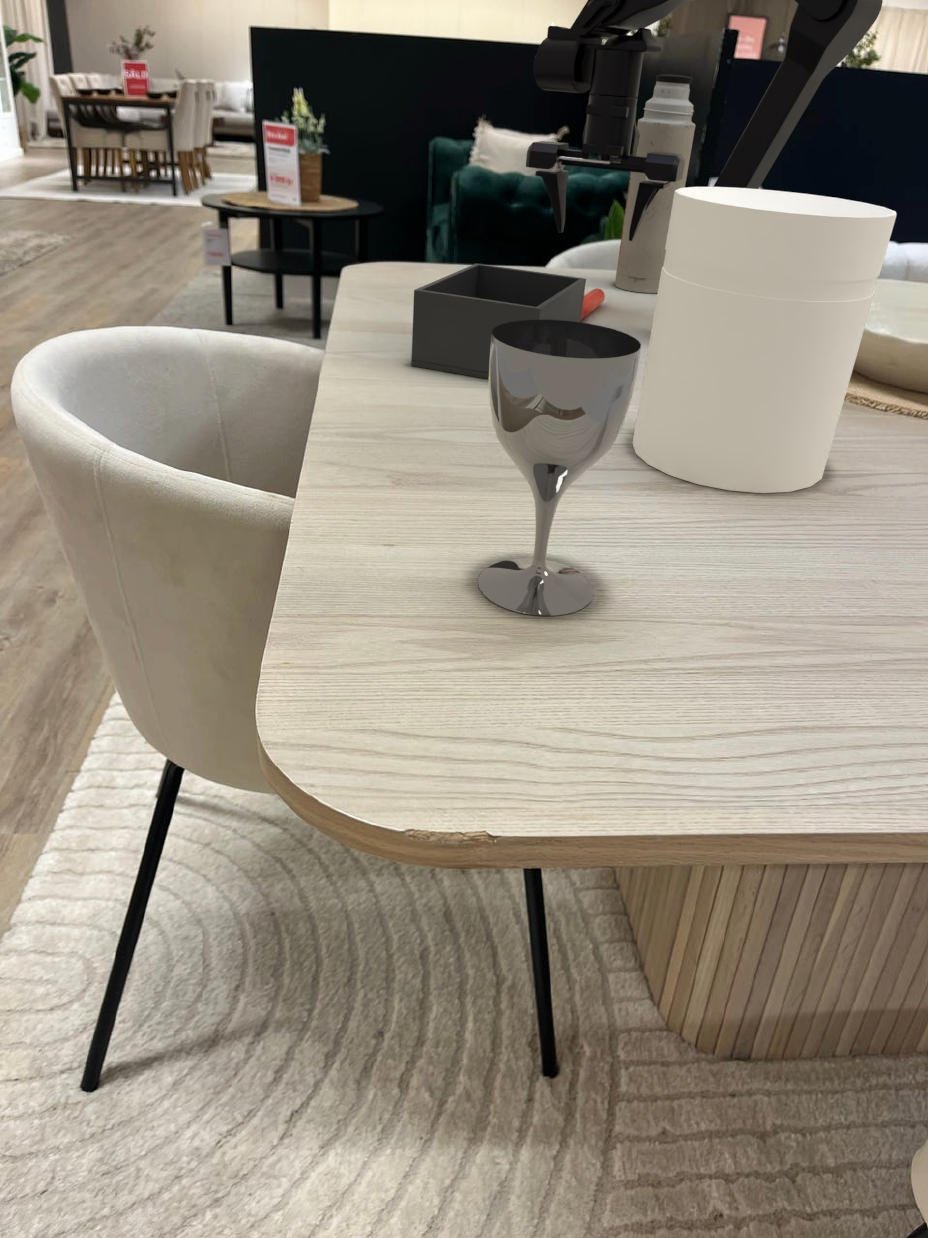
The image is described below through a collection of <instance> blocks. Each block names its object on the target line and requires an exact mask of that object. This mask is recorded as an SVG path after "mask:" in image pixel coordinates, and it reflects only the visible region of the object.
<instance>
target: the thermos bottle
mask: <svg viewBox="0 0 928 1238" xmlns="http://www.w3.org/2000/svg"><path fill="white" fill-rule="evenodd" d="M655 81H656V82H655V85H654V88H653V95H652V97H651V98H650V99H648V100H647V101H646V102H645V106H644V108H643V110H644V111H643V112H644V113H643V117H641V118H638V120H637V124H636V126H637V128H638V131H639V134H640V138H639V143H638V148H637V153H636V156H641V157H647V153H650V152H665V153H676V154H682V156H683V158H684V159H685V165H684V171H683V177H682V179H681V180H679V181H677V182H671V183H670V186H669V187H667V188H664V189H660V190H659V191H658V193H657V194H656V196H655V197H654V199H653V200H652V202H651V204H650V205H649V207H648V209H647V211H646V213H645V216H644V218H643V220H642V222H641V224H640V226H639V229H638V231H637V233H636V235H635V237H634V239H633V241H629V231H630V225H631V220H632V215H633V211H634V206H635V201H636V197H637V192H638V187H639V183H640V182H642V181H645V179H646V176H644V175H645V173H638V172H630V174H629V175H630V176H629V182H628V187H627V195H626V203H625V210H624V216H623V222H622V223H623V224H622V229H621V230H622V231H621V237H620V244H619V251H618V259H617V265H616V272H615V280H614V286H615V287H617V288H618V289H621V290H624V291H629V292H635V293H643V294H658V288H659V282H660V276H661V270H662V267H663V266H664V260H665V254H666V250H665V246H666V240H667V234H668V228H669V222H670V216H671V210H672V204H673V198H674V192H675V190H677V189H679V188H686V182H687V177H688V172H689V171H688V170H689V167H690V166H689V165H690V159H691V154H692V147H693V142H694V138H695V137H694V136H695V131H696V123H694V122H693V121H692V117H693V115H694V114H693V113H695V110H694V104H693V103H692V102H691V101H690V99H689V98H690V92H691V89H690V85H691V84H692V83H693V77H690V76H686V75H681V74H667V73H666V74H657V75H656V78H655Z"/></svg>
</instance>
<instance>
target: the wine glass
mask: <svg viewBox="0 0 928 1238" xmlns="http://www.w3.org/2000/svg"><path fill="white" fill-rule="evenodd" d="M641 349H642V344H641V342H640V341H639V339H637V338H636V337H633V336H632V335H630V334H628V333H626V332H623V331H620V330H618V329H615V328H610V327H606V326H603V325H598V324H593V323H592V324H591V323H586V322H582V321H581V322H572V321H562V320H521V321H514V322H508V323H504V324H501V325H498V326H497V327H495V328H494V329H493V330H492V334H491V343H490V354H489V379H488V392H489V406H490V414H491V420H492V425H493V429H494V432H495V436H496V438H497V440H498V441H499V444H500V446H501V447H502V449H503V450H504V452H505V453H506V454H507V456H508V457H509V458H510V460H511V461H512V462H513V464H514V465H515V467H516V468H517V469H518V470H519V472H520V473H521V475H523V477H524V479H525V480H526V482H527V484H528V487H529V488H530V491H531V493H532V496H533V500H534V509H535V510H534V511H535V513H534V514H535V532H534V533H535V536H534V548H533V555H532V558H528V557H527V558H526V557H525V558H511V559H505V560H501V561H498V562H495V563H493V564H491V565H489V566H487V567H485V569H484V570H483V571H482V572H481V573H480V574H479V576H478V579H477V580H478V581H477V582H478V588H479V590H480V592H481V593H482V595H483V596H484V597H486V598H487V599H488V600H489V601H491V602H492V603H494V604H495V605H497V606H500V607H502V608H504V609H506V610H509V611H512V612H516V613H519V614H524V615H530V616H541V617H542V616H543V617H552V616H553V617H555V616H562V615H563V616H564V615H569V614H572V613H575V612H579V611H580V610H583V609H584V608H586V607H587V606H589V605H590V604H591V602H593V599H594V597H595V589H594V585H593V583H592V582H591V580H590V579H589V578H588V577H587V576H586V575H584V574H583V573H582V572H580V571H579V570H577V569H575V568H573V567H571V566H570V565H569V566H568V565H566V564H564V563H560V562H556V561H552V560H548V559H547V554H548V547H549V546H548V545H549V541H550V540H549V538H550V534H551V530H552V527H553V526H552V525H553V522H554V518H555V515H556V510H557V508H558V505H559V502H560V501H561V499H562V498H563V496H564V495H565V493H566V491H567V490H568V489H569V488H570V487H571V486H572V485H573V484H574V483H575V482H576V481H577V480H578V479H579V478H581V477H582V476H583V475H584V474H586V473H587V472H588V471H589V470H590V469H592V468H593V467H594V466H595V465H597V464H598V463H599V462H600V461H601V460H603V458H604V457H605V456H606V455H607V454H608V453H609V452H610V451H611V449H612V447H613V446H614V444H615V443H616V440H617V438H618V437H619V434H620V432H621V430H622V427H623V425H624V422H625V421H626V417H627V414H628V411H629V408H630V404H631V401H632V398H633V396H634V395H633V394H634V390H635V385H636V380H637V376H638V371H639V363H640V357H641Z"/></svg>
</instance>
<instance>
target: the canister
mask: <svg viewBox="0 0 928 1238" xmlns="http://www.w3.org/2000/svg"><path fill="white" fill-rule="evenodd" d="M897 215H898V213H897V211H896V210H892V209H890V208H888V207H886V206H881V205H877V204H872V203H868V202H863V201H857V200H851V199H846V198H840V197H832V196H826V195H820V194H819V195H818V194H812V193H811V194H810V193H803V192H794V191H793V192H792V191H784V190H773V189H760V188H759V189H750V188H732V187H713V186H688V187H686V186H685V188H679V189H677V190H675V192H674V198H673V204H672V210H671V216H670V222H669V228H668V234H667V240H666V246H665V250H666V254H665V260H664V266H663V267H662V270H661V276H660V282H659V288H658V293H656V294H657V295H656V300H655V306H654V311H653V313H654V314H653V319H652V324H651V331H650V336H649V342H648V347H647V354H646V360H645V366H644V367H645V368H644V372H643V378H642V383H641V390H640V396H639V401H638V407H637V413H636V420H635V425H634V432H633V438H632V446H633V450H634V453H635V454H636V455H637V456H638V457H639V458H640V459H641V460H643V462H645V463H646V464H647V465H649V466H651V468H654V469H655V470H656V469H657V470H658V471H660V472H663V473H664V474H665V475H666V474H667V475H668V476H671V477H674V478H677V479H679V480H683V481H686V482H689V483H692V484H696V485H699V486H703V487H710V488H714V489H719V490H720V489H721V490H724V491H731V492H743V493H755V494H756V493H757V494H773V493H791V492H795V491H799V490H803V489H806V488H811V487H813V486H814V485H816V483H818V482H819V481H821V480H822V479H823V476H824V473H825V469H826V465H827V463H828V459H829V455H830V452H831V447H832V444H833V442H834V437H835V434H836V430H837V428H838V423H839V420H840V416H841V412H842V409H843V406H844V402H845V398H846V395H847V392H848V388H849V384H850V381H851V377H852V374H853V371H854V367H855V363H856V360H857V357H858V352H859V349H860V346H861V342H862V339H863V334H864V331H865V328H866V323H867V321H868V317H869V313H870V310H871V307H872V304H873V300H874V296H875V295H874V294H875V293H874V291H875V286H876V284H877V280H878V277H880V275H881V271H882V268H883V264H884V261H885V257H886V254H887V250H888V247H889V244H890V239H891V236H892V233H893V229H894V226H895V223H896V219H897Z"/></svg>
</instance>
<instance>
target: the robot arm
mask: <svg viewBox="0 0 928 1238" xmlns="http://www.w3.org/2000/svg"><path fill="white" fill-rule="evenodd" d="M694 1H695V0H587V1H586V3H585V4H584V5H583V8H582V9H581V10H580V12H579V14H578V15H577V17H576V18H575V20H574V22H573V23H572V25H571V26H570V28H569V27H566V26H559V25H548V27H547V33H546V37H545V38H544V39H543V40H542V41H541V42H540V44H539V46H538V48H537V52H536V55H535V56H534V57H533V76H534V79H535V83H536V85H537V86H538V88H540V89H541V90H543V91H551V92H563V93H572V94H573V93H575V94H584V93H587V92H588V91H589V96H588V103H587V104H586V110H585V115H586V119H585V120H586V121H585V124H584V128H583V133H582V143H581V146H582V147H581V150H578V149H570V146H569V143H568V142H559V141H545V140H539V141H533V142H532V143H531V144H530V145H529V146H528V148H527V151H526V160H525V167H526V168H532V169H537V170H535V172H534V173H535V174H534V175H535V176H536V177H540V178H542V182H543V184H544V186H545V189H546V192H547V195H548V197H549V200H550V204H551V208H552V212H553V216H554V220H555V224H556V228H557V231H558V233H559V234H560V233H561V234H562V233H563V232H564V229H565V223H566V209H567V208H566V206H567V205H566V204H567V184H568V179H569V175H570V174H569V173H570V170H566V169H564V168H565V167H566V166H569V167H580V168H589V169H600V170H608V171H618V172H619V171H620V172H630V173H631V172H638V173H645V175H644V176H646V179H645V181H642V182H640V183H639V187H638V192H637V197H636V201H635V206H634V211H633V215H632V220H631V225H630V231H629V241H633V239H634V237H635V235H636V233H637V231H638V229H639V226H640V224H641V222H642V220H643V218H644V216H645V213H646V211H647V209H648V207H649V205H650V204H651V202H652V200H653V199H654V197H655V196H656V194H657V193H658V191H659V190H660V189H664V188H667V187H669V186H670V183H671V182H677V181H679V180H681V179H682V177H683V171H684V165H685V159H684V158H683V156H682V154H676V153H665V152H650V153H647V157H641V156H636V153H637V148H638V143H639V138H640V134H639V131H638V128H637V121H636V118H637V103H638V97H639V89H640V82H641V76H642V68H643V62H644V61H643V60H644V54H655V55H657V54H660V53H661V52H662V46H661V45H660V44H659V42H658V41H657V40H656V38H655V37H654V35H653V33H652V30H651V29H650V28H647V27H650V26H651V25H654V24H655V23H657V22H658V21H660V20H661V21H662V20H663V19H665V18H667V16H668V15H670V14H671V13H672V12H673V11H674V10H676V9H677V8H679V7H681V6H683V5H685V4H686V3H691V2H694ZM794 1H795V2H796V4H797V6H796V9H795V10H794V14H793V15H792V19H791V22H790V25H789V28H788V34H787V41H786V47H785V53H784V56H783V59H782V62H781V63H780V65H779V66H778V69H777V71H776V72H775V74H774V76H773V77H772V80H771V81H770V83H769V85H768V87H767V88H766V90H765V92H764V94H763V96H762V98H761V100H760V101H759V103H758V105H757V107H756V109H755V110H754V112H753V114H752V116H751V118H750V119H749V121H748V123H747V125H746V127H745V128H744V130H743V132H742V134H741V135H740V137H739V139H738V141H737V143H736V145H735V147H734V148H733V150H732V152H731V154H730V155H729V157H728V159H727V161H726V162H725V165H724V167H723V169H721V172H720V174H719V176H718V177H717V179H716V180H715V182H714V184H713V186H712V187H732V188H750V189H760V187H761V186H762V184H763V182H764V180H765V178H766V177H767V175H768V174H769V172H770V170H771V168H772V167H773V166H774V163H775V162H776V160H777V158H778V156H779V155H780V153H781V152H782V150H783V148H784V146H785V145H786V143H787V141H788V140H789V138H790V136H791V134H792V133H793V131H794V129H795V127H796V126H797V124H798V123H799V121H800V119H801V117H802V116H803V114H804V113H805V111H806V109H807V107H808V105H809V104H810V102H811V101H812V99H813V97H814V95H815V94H816V92H817V90H819V87H820V85H821V83H822V82H823V80H824V79H825V78H826V77H827V76H828V74H830V72H832V71H833V70H834V69H835V68H836V67H837V66H838V65H839V64H840V63H841V62H842V61H844V59H845V58H846V57H848V56H849V55H850V54H851V53H852V51H854V49H855V48H856V47H857V45H858V44H859V43H860V41H861V40H862V39H863V37H864V36H866V34H867V33H868V31H869V30H871V27H872V26H873V25H874V24H875V22H876V21H877V19H878V17H879V15H880V13H881V10H882V7H883V0H794ZM632 31H635V32H634V33H633V34H629V33H631V32H632ZM602 40H606V41H605V42H604V44H602ZM591 155H597V157H598V159H596V158H591Z"/></svg>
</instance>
